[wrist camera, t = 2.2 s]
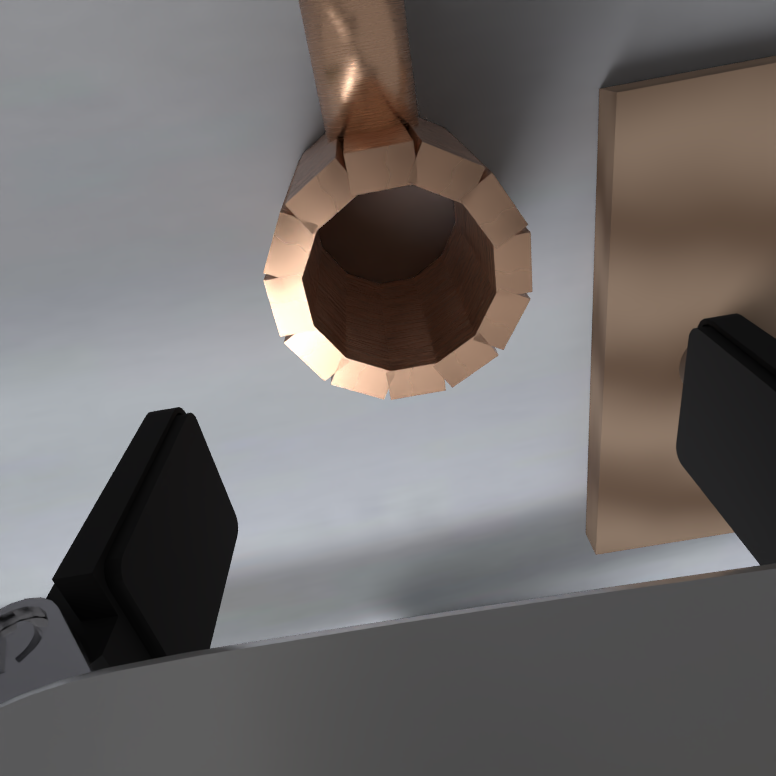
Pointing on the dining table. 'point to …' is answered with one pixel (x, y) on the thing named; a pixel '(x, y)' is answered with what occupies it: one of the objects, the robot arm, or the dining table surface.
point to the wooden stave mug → (380, 172)
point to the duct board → (672, 280)
